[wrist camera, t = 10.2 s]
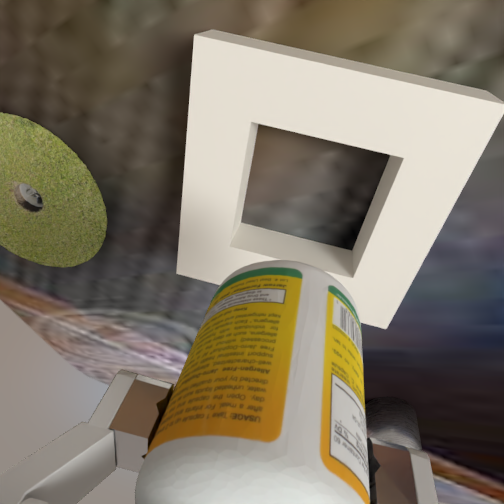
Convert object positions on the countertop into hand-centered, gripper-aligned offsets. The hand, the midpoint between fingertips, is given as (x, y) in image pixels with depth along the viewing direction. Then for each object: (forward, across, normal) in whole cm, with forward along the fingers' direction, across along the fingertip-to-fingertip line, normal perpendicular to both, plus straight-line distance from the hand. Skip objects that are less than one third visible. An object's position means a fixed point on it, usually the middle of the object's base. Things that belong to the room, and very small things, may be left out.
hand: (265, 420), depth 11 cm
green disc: (+16, +18, +5) cm, 24 cm away
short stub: (+16, -12, +19) cm, 27 cm away
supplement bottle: (+5, 0, 0) cm, 5 cm away
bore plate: (+16, 0, 0) cm, 16 cm away
